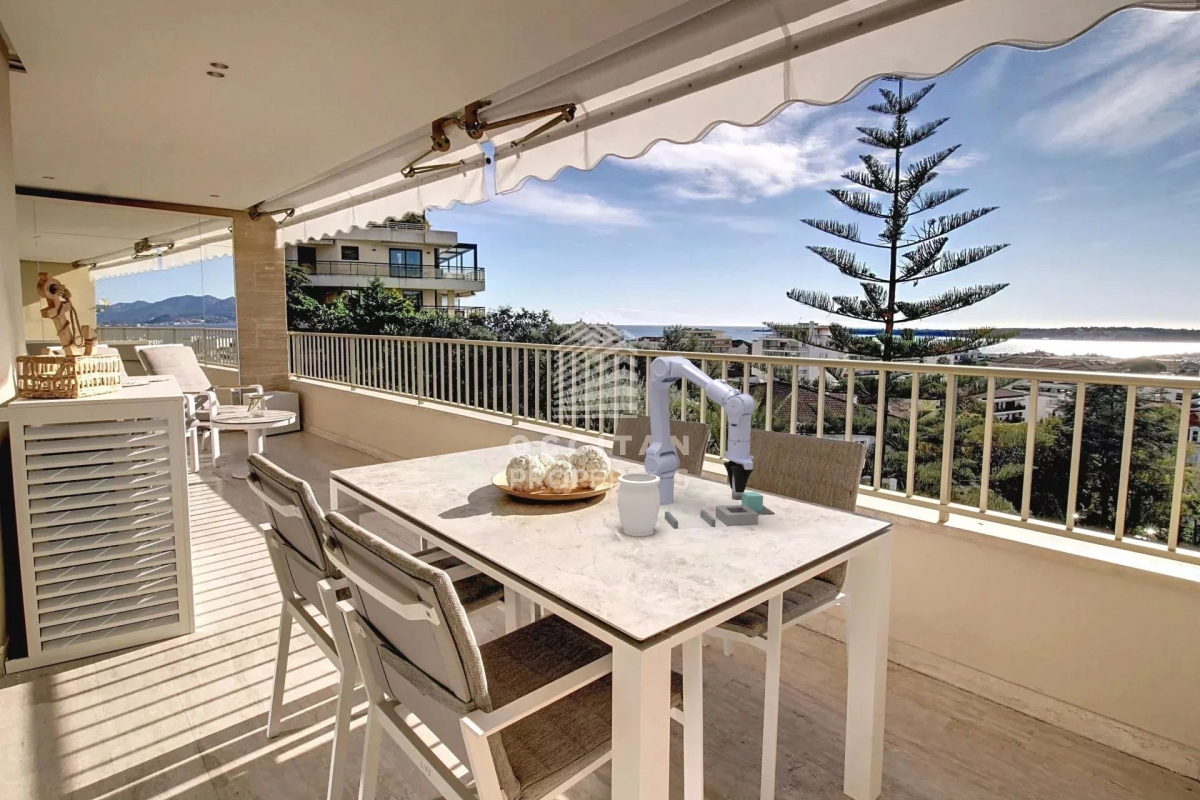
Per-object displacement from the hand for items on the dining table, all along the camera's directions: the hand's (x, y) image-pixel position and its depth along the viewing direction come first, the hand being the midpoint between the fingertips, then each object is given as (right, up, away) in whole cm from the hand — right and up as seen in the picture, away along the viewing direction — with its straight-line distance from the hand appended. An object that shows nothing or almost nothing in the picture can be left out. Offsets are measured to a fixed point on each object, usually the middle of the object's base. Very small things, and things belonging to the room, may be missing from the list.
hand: (737, 490), depth 169 cm
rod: (0, -2, 0) cm, 2 cm away
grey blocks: (-7, -9, 0) cm, 12 cm away
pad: (+8, -8, +15) cm, 18 cm away
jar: (-27, -10, -8) cm, 30 cm away
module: (+7, -8, +14) cm, 18 cm away
